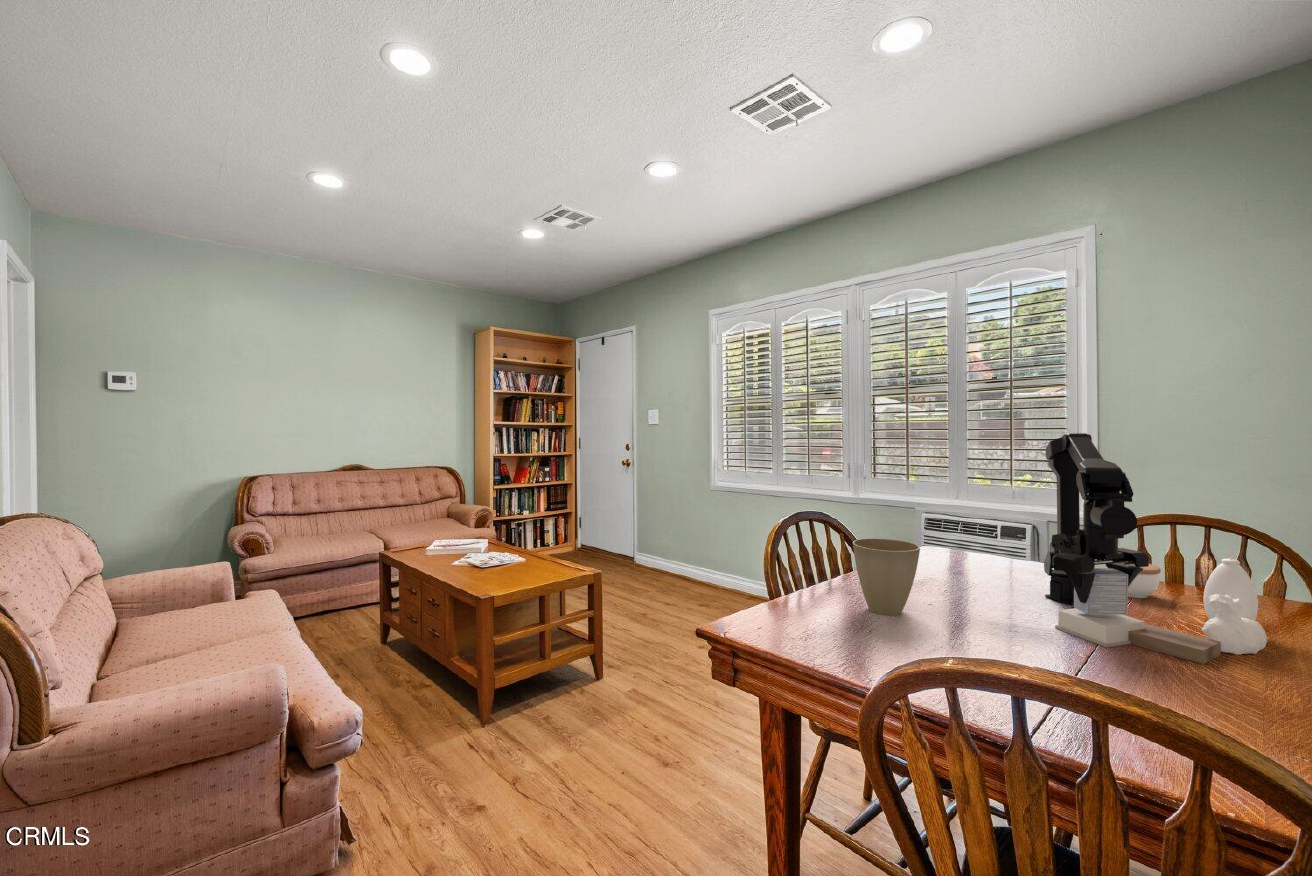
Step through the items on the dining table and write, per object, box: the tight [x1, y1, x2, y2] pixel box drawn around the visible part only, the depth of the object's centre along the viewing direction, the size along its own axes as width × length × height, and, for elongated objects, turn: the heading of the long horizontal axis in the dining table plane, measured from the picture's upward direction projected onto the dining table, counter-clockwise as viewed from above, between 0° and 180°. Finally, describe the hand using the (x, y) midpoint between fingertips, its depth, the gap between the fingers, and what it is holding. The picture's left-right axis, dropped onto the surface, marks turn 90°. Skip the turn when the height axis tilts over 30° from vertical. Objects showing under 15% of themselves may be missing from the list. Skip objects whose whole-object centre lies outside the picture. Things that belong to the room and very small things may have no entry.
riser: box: [1054, 607, 1145, 648], centre depth 116 cm, size 11×11×4 cm
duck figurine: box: [1201, 594, 1268, 656], centre depth 109 cm, size 12×8×11 cm
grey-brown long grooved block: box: [1128, 622, 1222, 665], centre depth 109 cm, size 8×12×2 cm, turn 29°
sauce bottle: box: [1202, 547, 1259, 621], centre depth 116 cm, size 8×8×18 cm
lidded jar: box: [1105, 563, 1161, 599], centre depth 143 cm, size 11×11×9 cm
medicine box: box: [1073, 567, 1129, 616], centre depth 116 cm, size 8×4×9 cm, turn 85°
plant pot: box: [852, 537, 921, 616], centre depth 133 cm, size 15×15×16 cm
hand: (1100, 600), depth 116 cm, fingers closed on medicine box, 9 cm apart
